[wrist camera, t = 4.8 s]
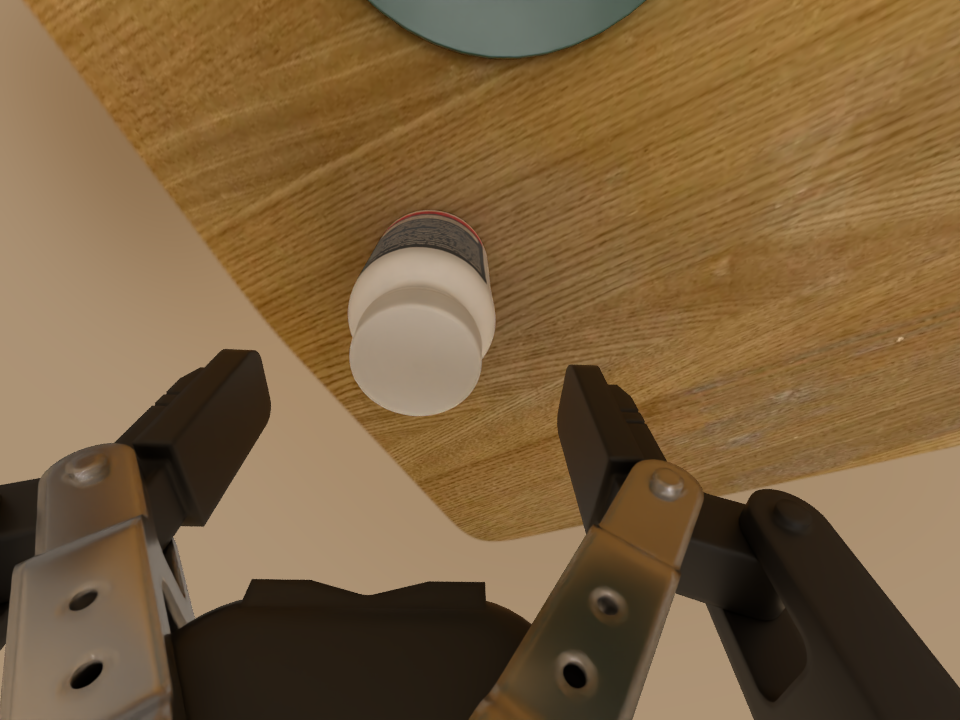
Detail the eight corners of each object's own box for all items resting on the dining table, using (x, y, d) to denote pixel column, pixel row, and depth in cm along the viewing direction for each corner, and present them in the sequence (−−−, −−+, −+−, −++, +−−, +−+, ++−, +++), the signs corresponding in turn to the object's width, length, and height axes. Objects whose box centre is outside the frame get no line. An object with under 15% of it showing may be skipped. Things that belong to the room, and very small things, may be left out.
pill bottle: (358, 225, 20) (291, 305, 12) (471, 194, 19) (476, 257, 11) (399, 327, 22) (366, 446, 15) (499, 302, 22) (518, 412, 14)
